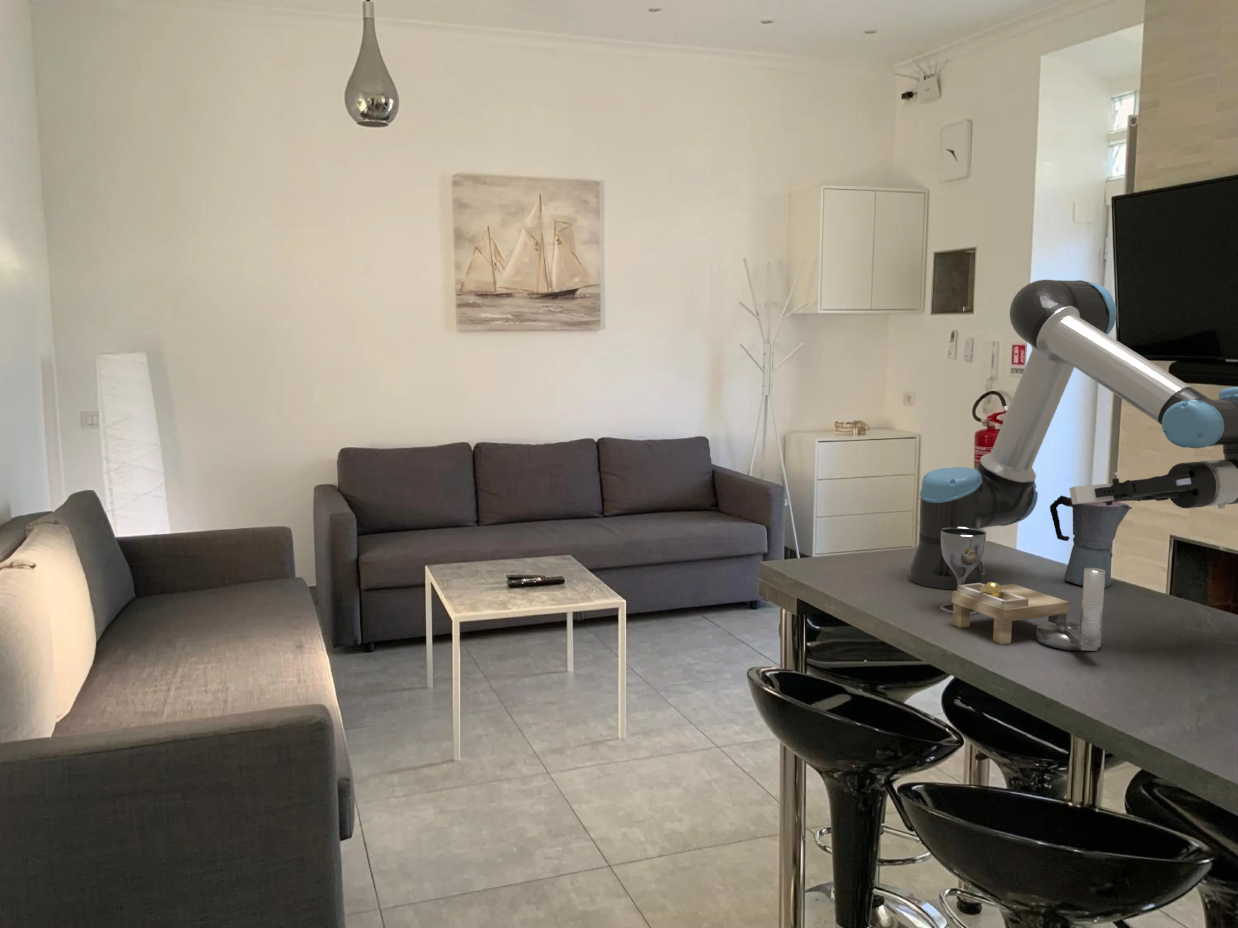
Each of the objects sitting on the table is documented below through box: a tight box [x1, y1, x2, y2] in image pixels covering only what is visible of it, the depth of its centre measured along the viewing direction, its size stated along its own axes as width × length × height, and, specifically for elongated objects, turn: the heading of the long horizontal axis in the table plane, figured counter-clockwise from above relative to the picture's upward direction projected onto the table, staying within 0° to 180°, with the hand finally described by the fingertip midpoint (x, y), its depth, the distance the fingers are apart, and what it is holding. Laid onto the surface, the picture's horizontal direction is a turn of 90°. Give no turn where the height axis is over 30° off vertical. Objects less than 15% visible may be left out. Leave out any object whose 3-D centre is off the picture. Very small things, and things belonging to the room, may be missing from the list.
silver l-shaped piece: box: [1035, 568, 1105, 652], centre depth 162 cm, size 16×10×15 cm, turn 173°
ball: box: [983, 581, 1001, 598], centre depth 171 cm, size 3×3×3 cm
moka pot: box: [1049, 495, 1133, 588], centre depth 205 cm, size 10×15×20 cm, turn 78°
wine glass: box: [939, 527, 987, 616], centre depth 185 cm, size 8×8×15 cm
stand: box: [951, 583, 1071, 645], centre depth 173 cm, size 13×14×7 cm
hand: (1073, 495), depth 159 cm, fingers closed
